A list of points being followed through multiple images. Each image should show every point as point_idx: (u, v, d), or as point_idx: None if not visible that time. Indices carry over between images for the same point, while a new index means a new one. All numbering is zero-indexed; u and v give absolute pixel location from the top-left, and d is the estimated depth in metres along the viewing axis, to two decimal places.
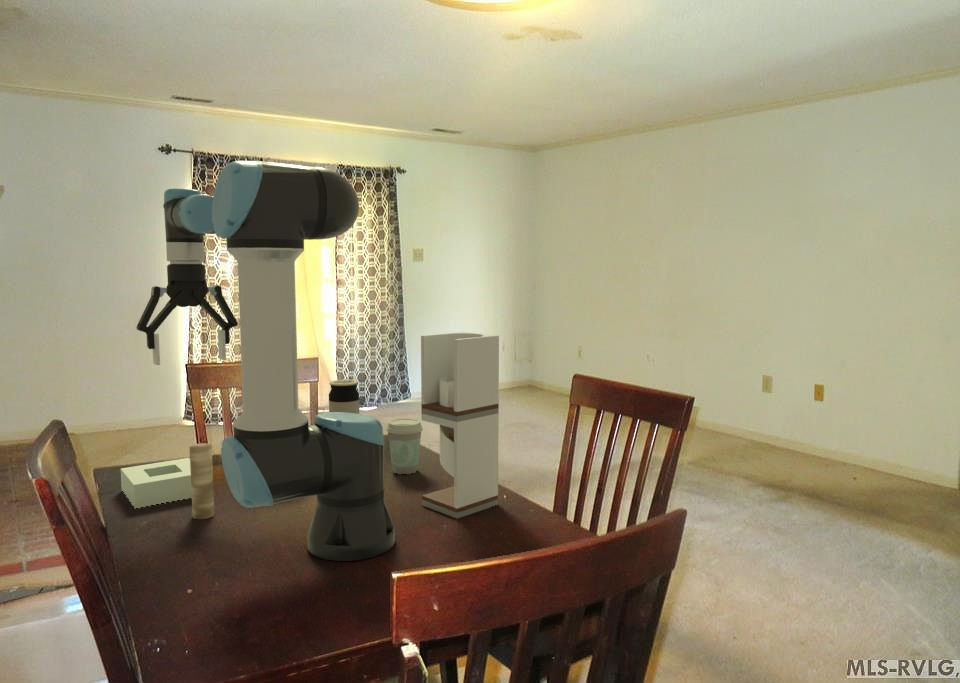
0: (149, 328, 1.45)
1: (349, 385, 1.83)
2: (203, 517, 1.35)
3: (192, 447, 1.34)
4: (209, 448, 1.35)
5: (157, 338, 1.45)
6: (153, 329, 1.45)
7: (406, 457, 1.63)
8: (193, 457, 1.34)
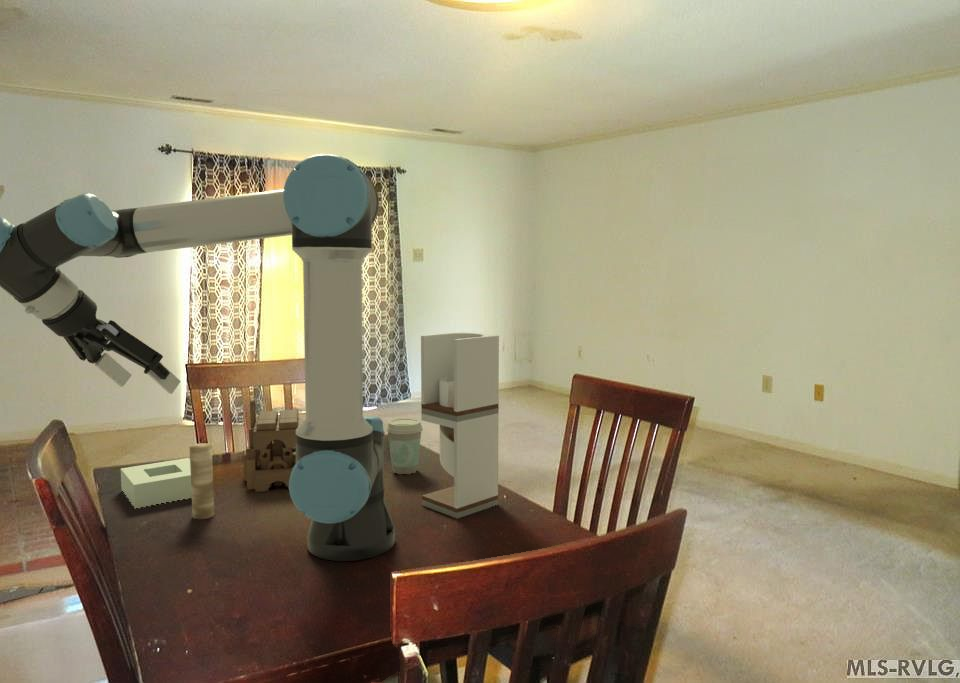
0: None
1: None
2: (203, 517, 1.35)
3: (192, 447, 1.34)
4: (209, 448, 1.35)
5: None
6: None
7: (406, 457, 1.63)
8: (193, 457, 1.34)
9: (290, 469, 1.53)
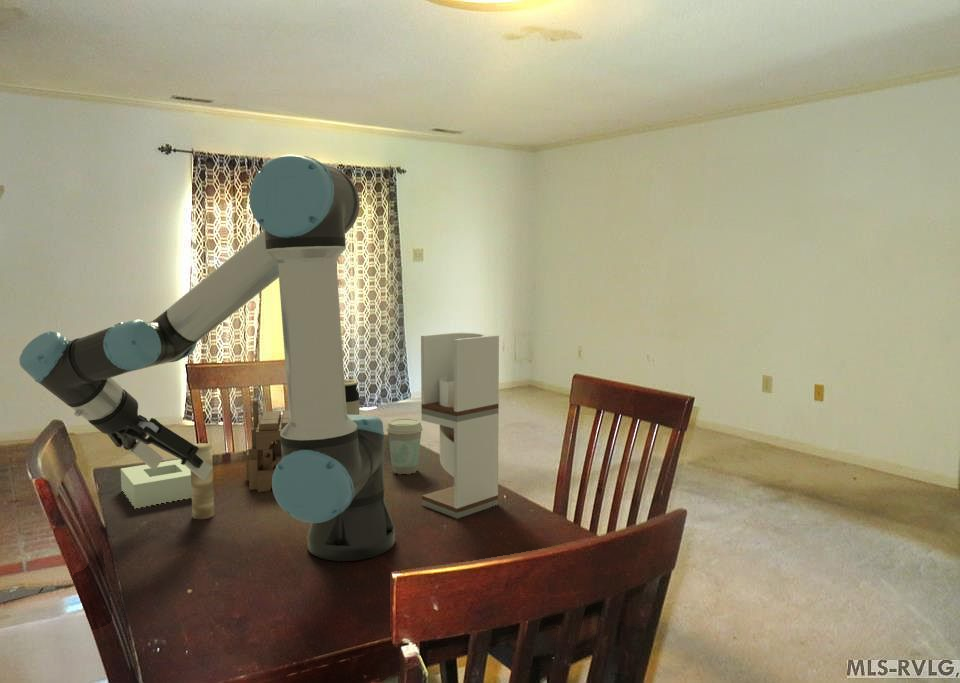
0: None
1: (349, 385, 1.83)
2: (203, 517, 1.35)
3: None
4: (209, 448, 1.35)
5: None
6: None
7: (406, 457, 1.63)
8: None
9: None
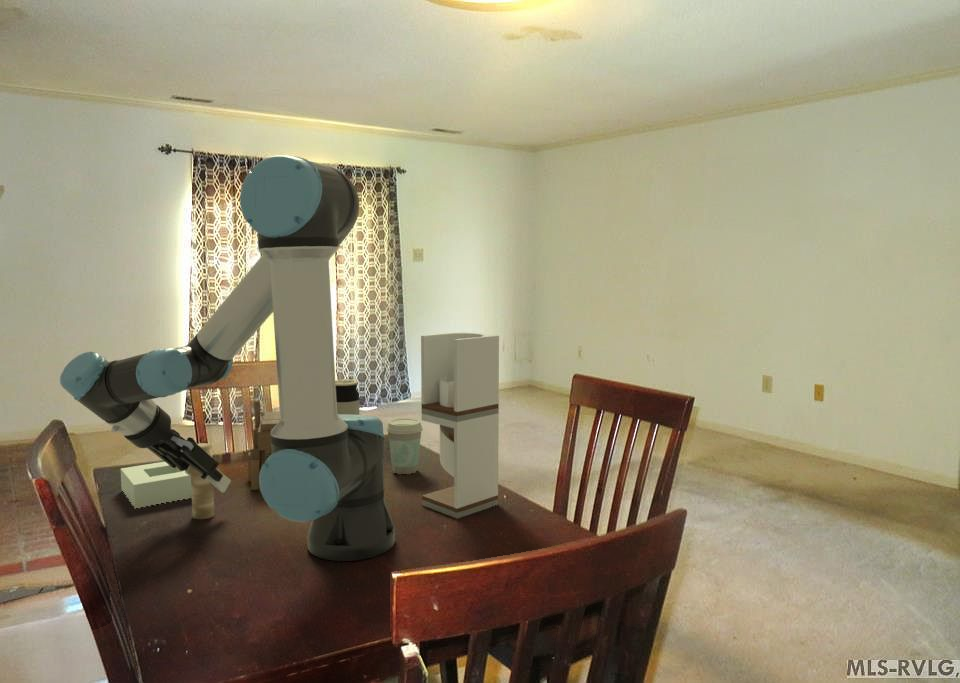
0: None
1: (349, 385, 1.83)
2: (203, 517, 1.35)
3: None
4: (209, 448, 1.35)
5: None
6: None
7: (406, 457, 1.63)
8: None
9: None
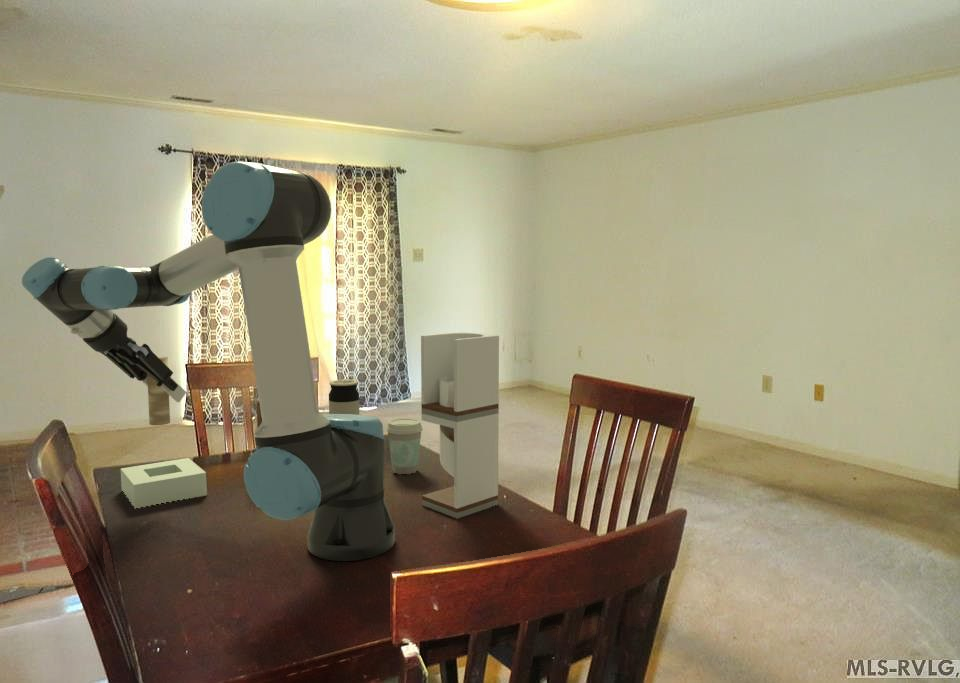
0: None
1: (349, 385, 1.83)
2: (159, 423, 1.46)
3: None
4: (165, 359, 1.46)
5: None
6: None
7: (406, 457, 1.63)
8: None
9: None
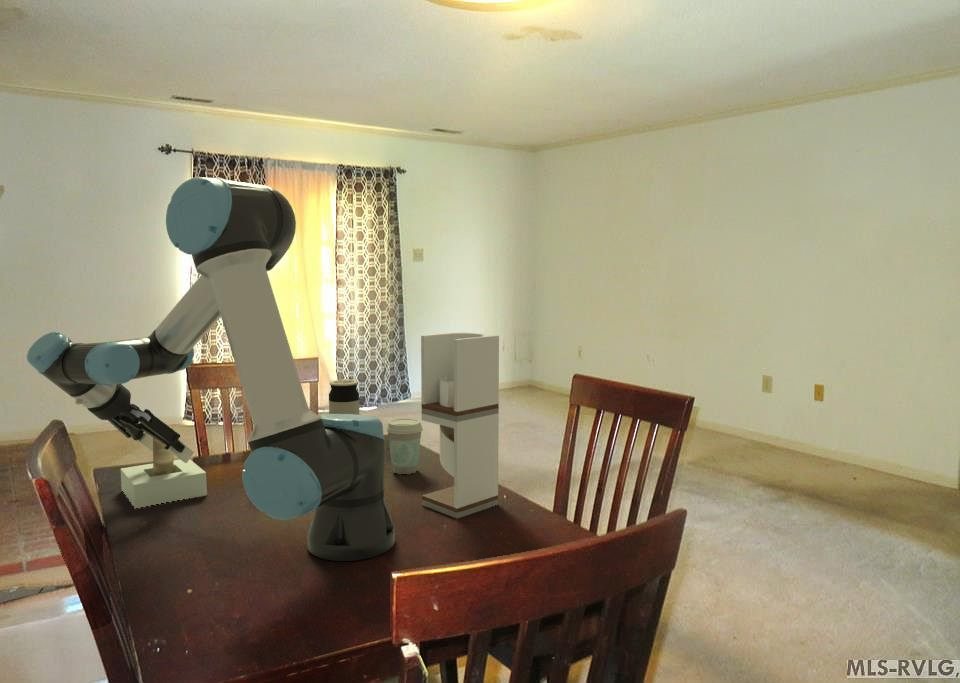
0: None
1: (349, 385, 1.83)
2: None
3: None
4: None
5: None
6: None
7: (406, 457, 1.63)
8: None
9: None
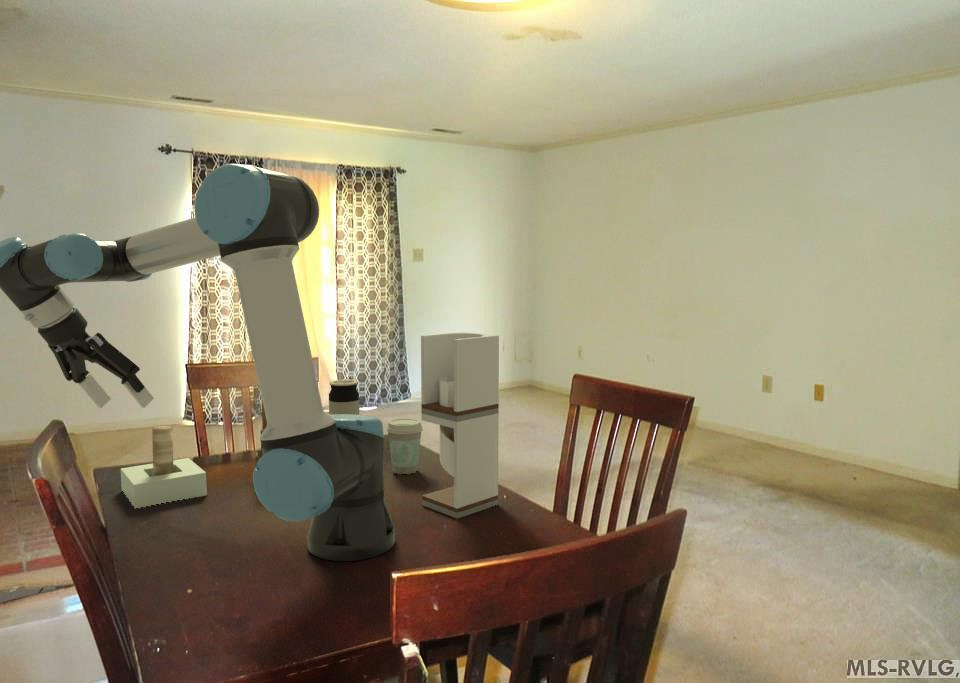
0: None
1: (349, 385, 1.83)
2: None
3: (154, 429, 1.47)
4: (170, 430, 1.48)
5: None
6: None
7: (406, 457, 1.63)
8: (155, 438, 1.47)
9: None
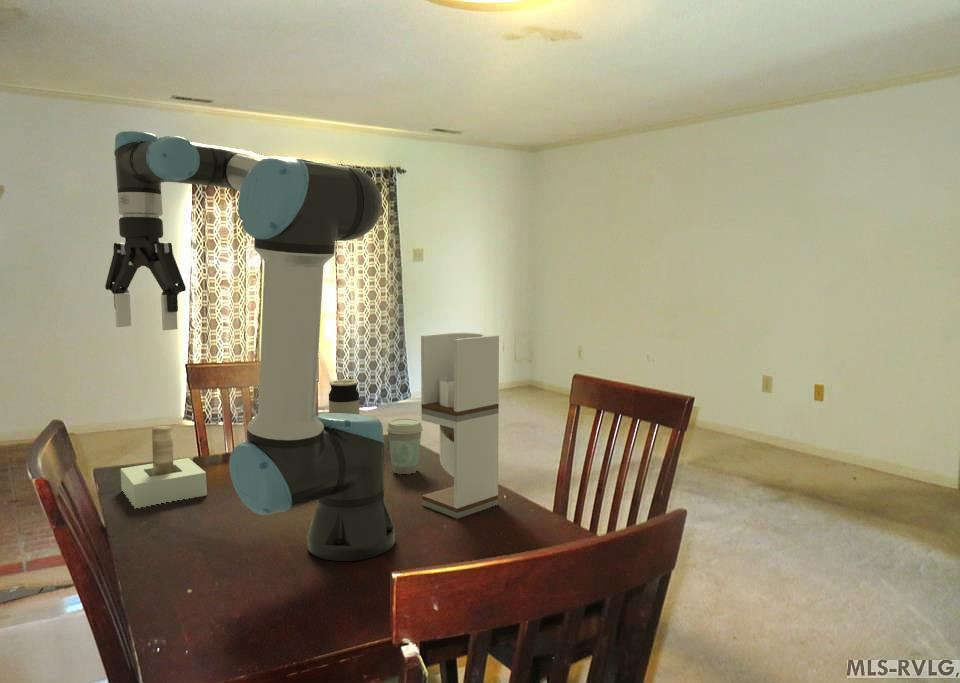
0: None
1: (349, 385, 1.83)
2: None
3: (154, 429, 1.48)
4: (170, 430, 1.48)
5: None
6: None
7: (406, 457, 1.63)
8: (155, 438, 1.47)
9: None
